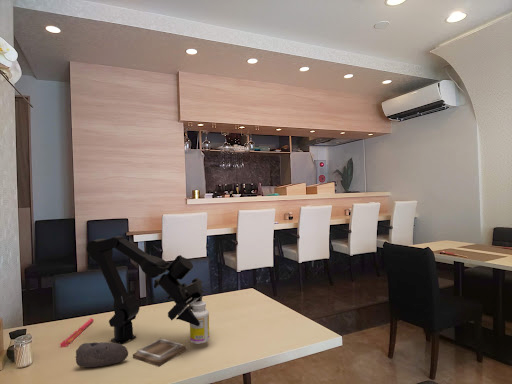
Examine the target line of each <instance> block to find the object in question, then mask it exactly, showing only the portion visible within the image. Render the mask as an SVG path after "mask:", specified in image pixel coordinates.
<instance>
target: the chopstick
mask: <svg viewBox="0 0 512 384" xmlns="http://www.w3.org/2000/svg"><path fill="white" fill-rule="evenodd" d="M94 321H95V319H94V318H92V317H90V318H89V319H87V320H86V321H85V322H84V323H83V324H82V325H81V326H79V327H78V328H77V329H75V330H74V331H73V332H72V333H71V334H69V335H68V336H67V337H66V338H65V339H64V340H62V342H61V343H59V345H60V348H66V347H67V346H68V345H70V343H72V342H73V341H74V340H75V339H76V338H77V337H78V336H80V335H81V334H82V332H83V331H84V330H86V328H88V327H90V325H91V324H93V323H94Z"/></svg>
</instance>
